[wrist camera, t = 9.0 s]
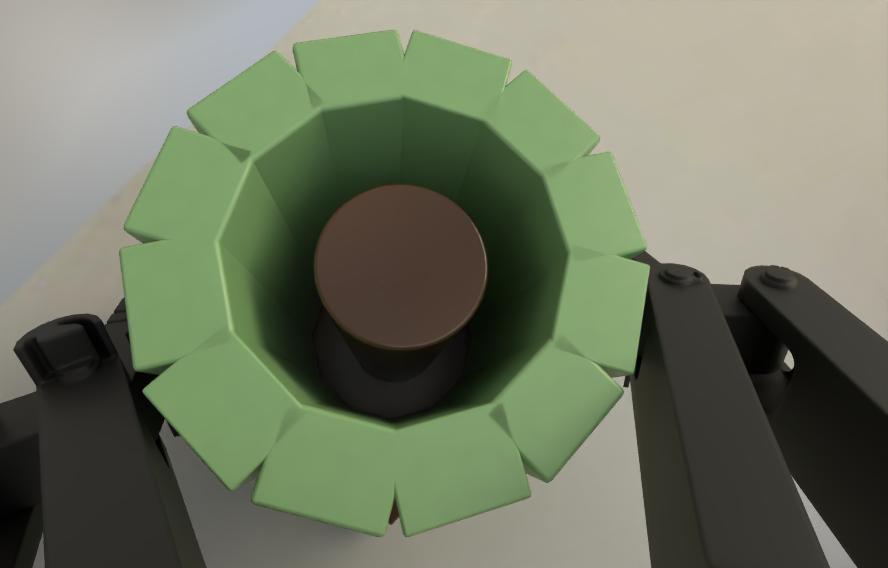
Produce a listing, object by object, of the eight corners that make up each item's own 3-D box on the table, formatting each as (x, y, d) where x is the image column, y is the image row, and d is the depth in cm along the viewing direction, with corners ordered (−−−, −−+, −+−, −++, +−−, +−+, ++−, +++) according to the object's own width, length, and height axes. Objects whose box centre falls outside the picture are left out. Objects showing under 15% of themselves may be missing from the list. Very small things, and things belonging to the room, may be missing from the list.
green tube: (219, 333, 17) (0, 233, 7) (396, 184, 19) (406, -43, 10) (388, 517, 16) (391, 676, 6) (553, 338, 18) (738, 259, 9)
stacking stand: (230, 341, 19) (21, 250, 8) (398, 197, 21) (408, -20, 10) (390, 516, 18) (394, 673, 7) (548, 345, 20) (728, 272, 9)
